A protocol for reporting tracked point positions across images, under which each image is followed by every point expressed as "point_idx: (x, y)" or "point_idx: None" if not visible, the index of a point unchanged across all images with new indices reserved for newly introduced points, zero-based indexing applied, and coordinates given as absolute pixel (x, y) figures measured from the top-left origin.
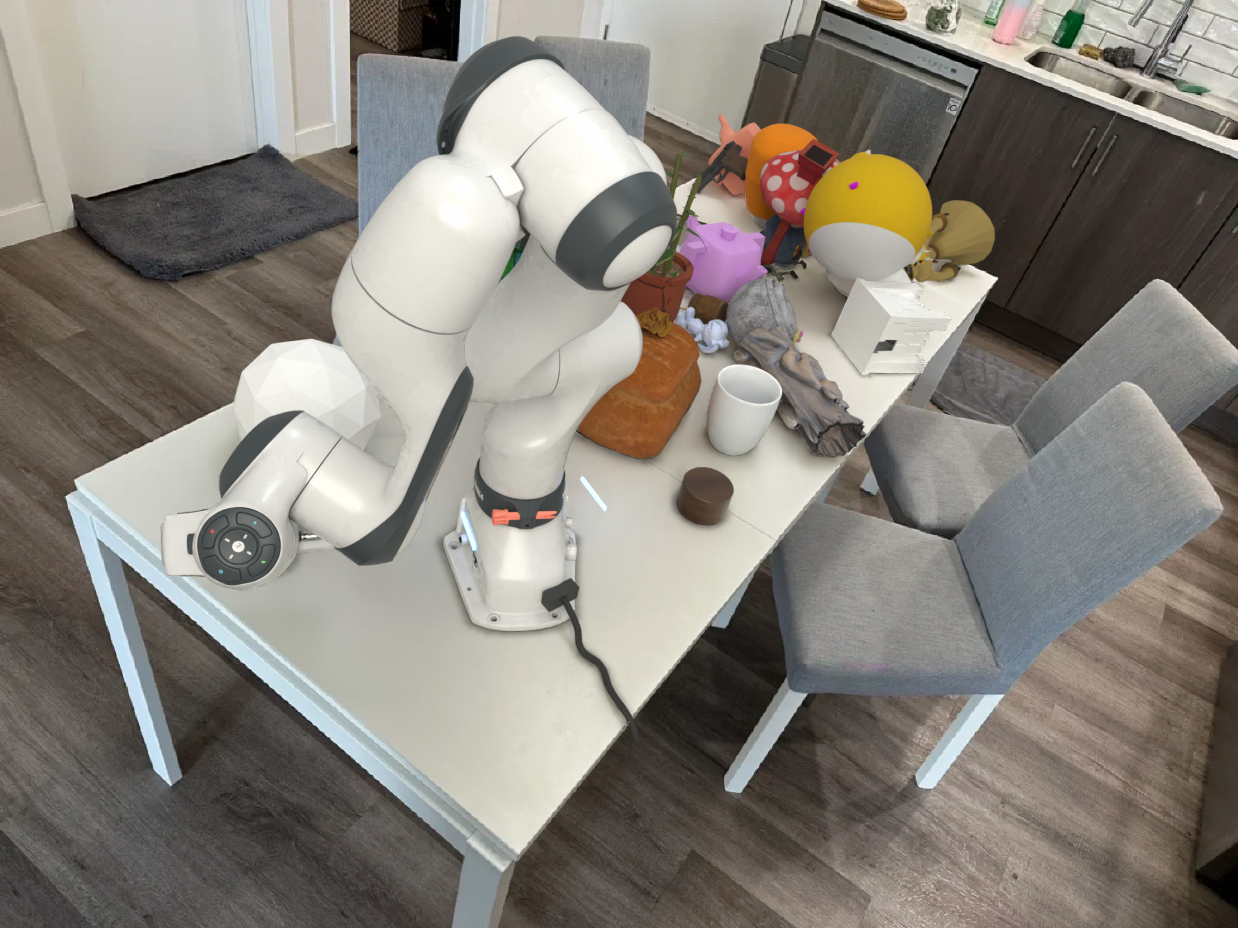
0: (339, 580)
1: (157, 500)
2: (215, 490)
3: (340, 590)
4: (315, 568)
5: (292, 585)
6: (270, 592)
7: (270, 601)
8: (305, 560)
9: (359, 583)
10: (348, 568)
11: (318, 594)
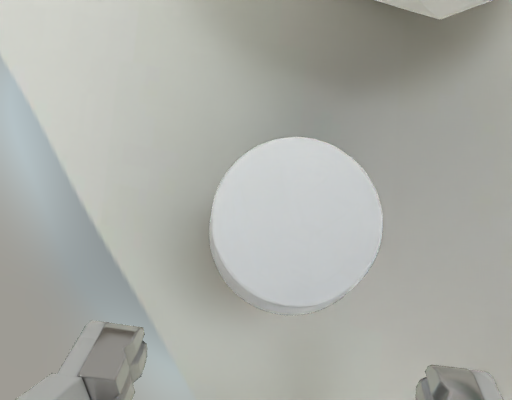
0: (436, 355)
1: (67, 24)
2: (182, 13)
3: None
4: (380, 300)
5: (322, 344)
6: (270, 355)
7: (267, 385)
8: None
9: None
10: (461, 318)
11: (381, 391)
